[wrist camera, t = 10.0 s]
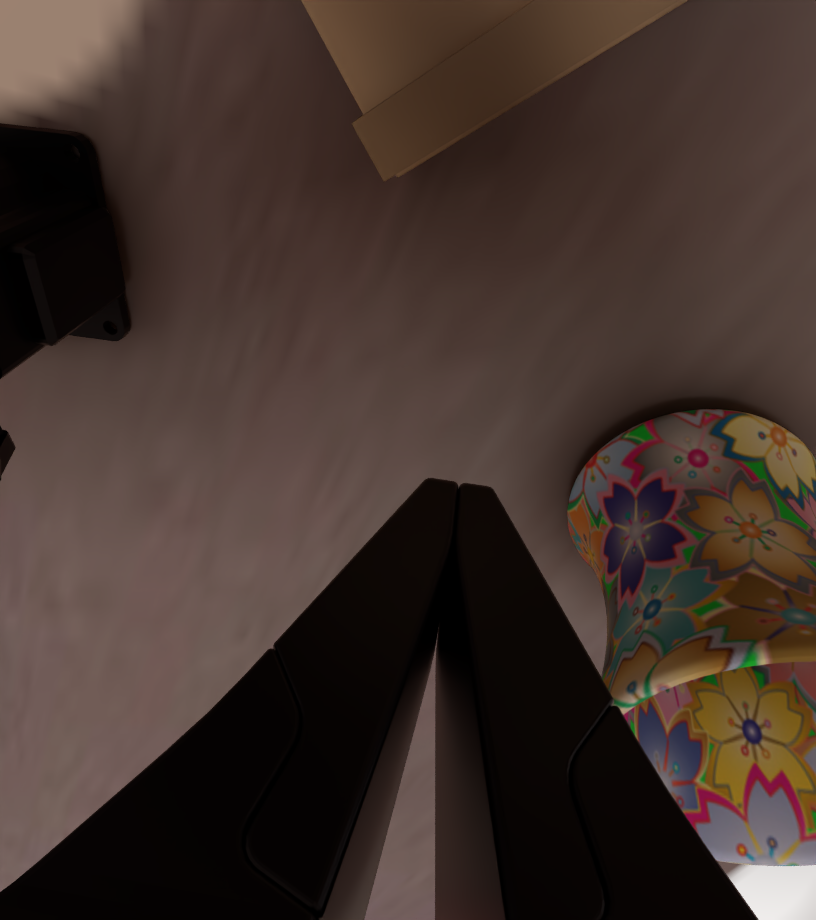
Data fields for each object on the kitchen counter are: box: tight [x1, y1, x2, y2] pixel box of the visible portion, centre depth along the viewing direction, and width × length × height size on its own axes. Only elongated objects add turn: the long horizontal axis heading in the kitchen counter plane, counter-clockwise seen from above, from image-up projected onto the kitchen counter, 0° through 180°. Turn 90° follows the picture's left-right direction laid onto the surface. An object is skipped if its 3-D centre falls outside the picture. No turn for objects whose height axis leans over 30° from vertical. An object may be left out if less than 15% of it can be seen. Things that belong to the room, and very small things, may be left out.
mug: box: [567, 409, 816, 866], centre depth 19 cm, size 12×9×11 cm
